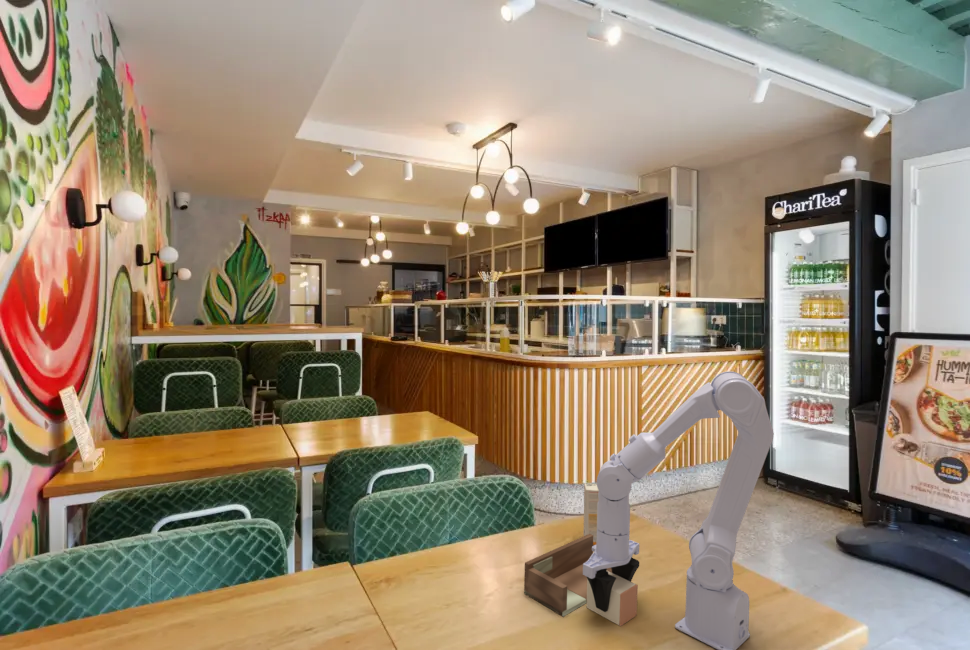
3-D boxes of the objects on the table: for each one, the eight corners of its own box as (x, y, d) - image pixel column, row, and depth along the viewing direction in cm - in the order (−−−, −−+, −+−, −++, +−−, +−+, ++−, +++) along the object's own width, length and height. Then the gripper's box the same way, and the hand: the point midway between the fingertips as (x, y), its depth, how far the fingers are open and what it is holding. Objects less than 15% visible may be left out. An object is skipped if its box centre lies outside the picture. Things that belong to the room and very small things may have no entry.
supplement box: (617, 538, 124) (619, 483, 124) (620, 547, 119) (622, 490, 119) (582, 535, 125) (584, 481, 125) (584, 545, 120) (585, 488, 120)
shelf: (627, 579, 105) (628, 549, 105) (563, 616, 92) (563, 583, 92) (588, 561, 113) (589, 533, 112) (524, 593, 99) (524, 562, 99)
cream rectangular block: (636, 615, 93) (637, 584, 93) (620, 626, 90) (621, 594, 90) (602, 597, 98) (603, 569, 98) (586, 607, 95) (587, 577, 95)
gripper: (617, 512, 101) (615, 580, 102) (569, 532, 92) (567, 608, 92) (650, 523, 96) (647, 596, 97) (603, 546, 87) (600, 627, 87)
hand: (611, 603), depth 94 cm, fingers closed on cream rectangular block, 5 cm apart
